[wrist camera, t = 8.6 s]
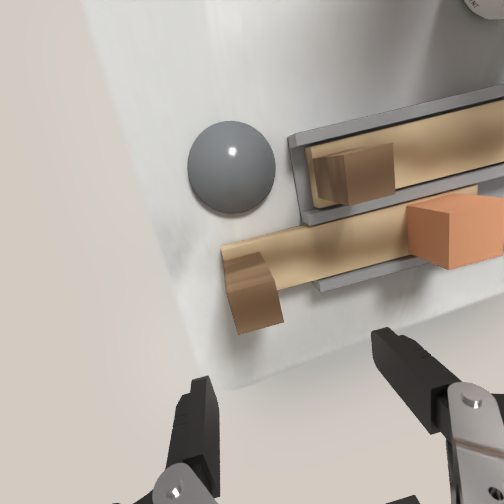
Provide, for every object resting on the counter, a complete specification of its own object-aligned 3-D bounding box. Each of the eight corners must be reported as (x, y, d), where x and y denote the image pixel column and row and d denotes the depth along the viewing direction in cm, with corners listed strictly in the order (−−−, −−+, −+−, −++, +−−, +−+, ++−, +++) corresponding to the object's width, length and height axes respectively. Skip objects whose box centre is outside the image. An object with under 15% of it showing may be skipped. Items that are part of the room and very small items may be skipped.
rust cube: (406, 205, 26) (449, 213, 21) (454, 193, 26) (507, 198, 21) (408, 252, 27) (448, 270, 22) (453, 240, 27) (502, 255, 23)
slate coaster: (176, 133, 23) (175, 132, 23) (264, 113, 24) (265, 111, 23) (202, 220, 26) (202, 222, 25) (281, 201, 26) (282, 201, 26)
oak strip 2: (220, 246, 26) (222, 280, 18) (463, 183, 27) (567, 189, 19) (234, 294, 28) (241, 345, 20) (461, 233, 29) (556, 257, 21)
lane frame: (287, 137, 24) (295, 133, 22) (576, 68, 26) (612, 57, 24) (312, 282, 29) (320, 292, 27) (554, 217, 31) (583, 220, 28)
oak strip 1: (304, 148, 24) (341, 138, 17) (559, 86, 26) (692, 53, 19) (313, 206, 26) (350, 219, 19) (551, 145, 27) (670, 136, 20)
